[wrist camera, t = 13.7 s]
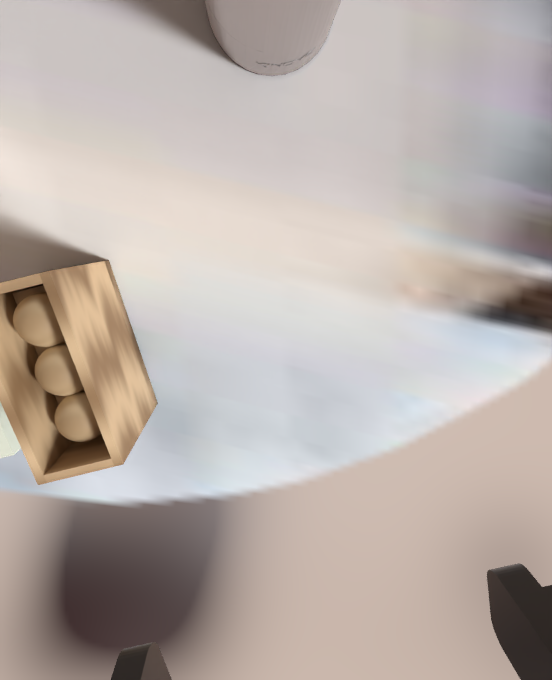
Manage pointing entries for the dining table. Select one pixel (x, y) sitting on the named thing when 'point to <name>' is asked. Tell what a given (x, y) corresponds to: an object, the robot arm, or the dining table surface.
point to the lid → (7, 436)
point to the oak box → (71, 371)
